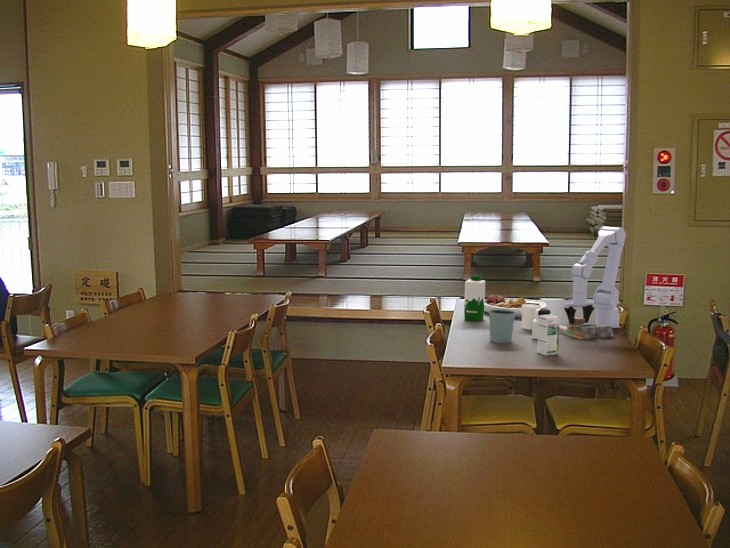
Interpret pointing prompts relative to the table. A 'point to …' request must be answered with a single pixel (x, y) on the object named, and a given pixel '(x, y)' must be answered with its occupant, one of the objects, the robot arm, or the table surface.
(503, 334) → the drinking glass
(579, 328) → the gauge plate
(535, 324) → the medicine bottle
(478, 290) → the milk carton
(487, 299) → the bowl
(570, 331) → the gauge bed
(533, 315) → the white cup
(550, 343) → the syrup box
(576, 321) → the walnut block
